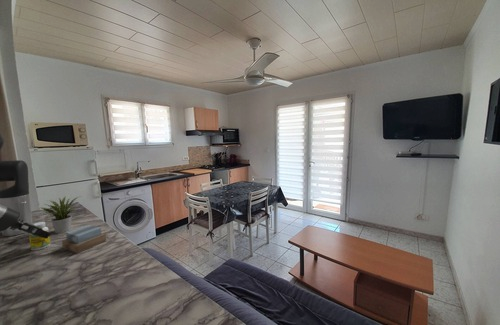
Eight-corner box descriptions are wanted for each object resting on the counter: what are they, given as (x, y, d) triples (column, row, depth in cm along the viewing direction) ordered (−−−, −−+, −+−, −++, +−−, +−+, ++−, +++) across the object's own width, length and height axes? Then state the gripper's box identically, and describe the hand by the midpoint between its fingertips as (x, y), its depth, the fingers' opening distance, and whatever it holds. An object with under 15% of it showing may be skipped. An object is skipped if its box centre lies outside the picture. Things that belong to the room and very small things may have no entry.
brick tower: (62, 247, 77) (61, 233, 77) (91, 236, 86) (90, 223, 86) (77, 253, 73) (76, 237, 73) (106, 240, 83) (104, 227, 82)
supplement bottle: (52, 242, 82) (49, 220, 81) (48, 248, 77) (45, 224, 76) (33, 246, 79) (30, 223, 78) (28, 252, 74) (25, 227, 73)
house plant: (76, 221, 103) (73, 191, 102) (91, 226, 97) (88, 193, 96) (38, 232, 91) (34, 197, 89) (52, 238, 85) (48, 201, 83)
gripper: (14, 208, 66) (60, 227, 78) (-4, 203, 72) (42, 222, 83) (-9, 230, 62) (44, 247, 74) (-26, 223, 67) (25, 240, 79)
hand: (43, 234), depth 78 cm, fingers open, 8 cm apart
